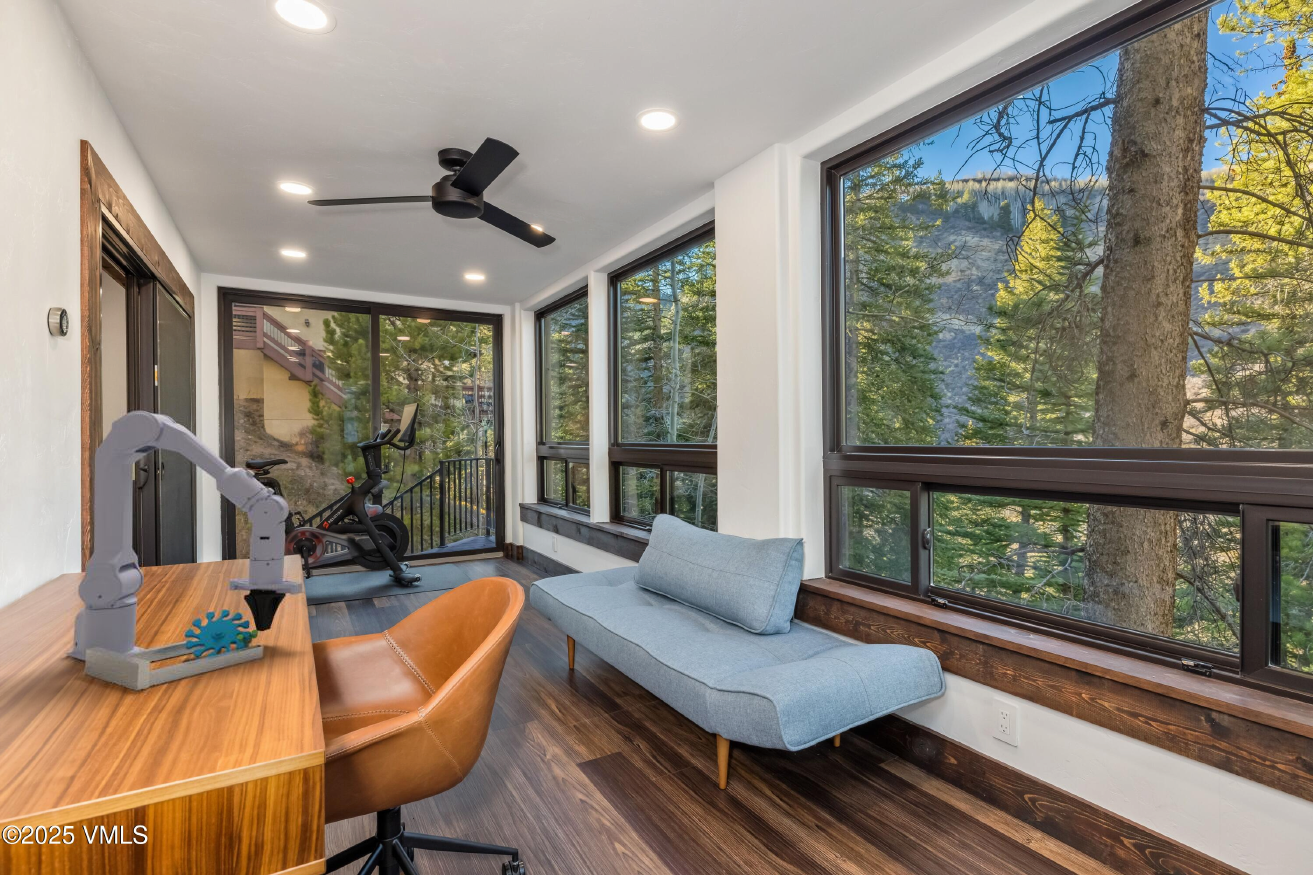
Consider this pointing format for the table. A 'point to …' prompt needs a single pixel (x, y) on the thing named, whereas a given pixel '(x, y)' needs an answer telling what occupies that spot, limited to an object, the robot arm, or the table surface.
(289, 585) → the robot arm
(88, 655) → the rail dock
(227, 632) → the gear
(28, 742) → the table surface
